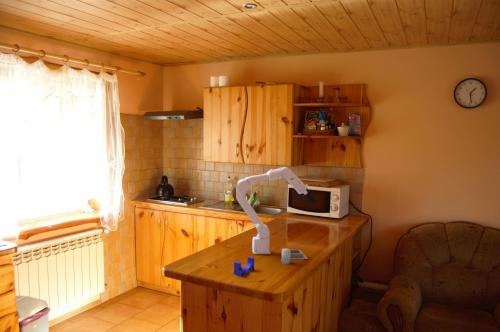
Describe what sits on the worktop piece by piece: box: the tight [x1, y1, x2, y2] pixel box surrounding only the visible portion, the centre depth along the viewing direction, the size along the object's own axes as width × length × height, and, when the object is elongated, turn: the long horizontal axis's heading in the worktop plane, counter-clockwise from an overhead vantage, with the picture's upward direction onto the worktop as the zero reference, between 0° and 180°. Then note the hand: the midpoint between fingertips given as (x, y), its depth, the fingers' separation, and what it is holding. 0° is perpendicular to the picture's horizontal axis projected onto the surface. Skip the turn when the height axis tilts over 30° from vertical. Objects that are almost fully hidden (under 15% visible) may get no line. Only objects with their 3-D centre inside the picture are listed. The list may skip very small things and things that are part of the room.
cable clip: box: [233, 256, 256, 277], centre depth 191 cm, size 12×4×6 cm, turn 142°
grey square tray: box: [280, 249, 309, 261], centre depth 218 cm, size 12×12×3 cm
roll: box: [281, 248, 291, 265], centre depth 207 cm, size 4×4×7 cm
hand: (312, 200), depth 224 cm, fingers open, 7 cm apart
